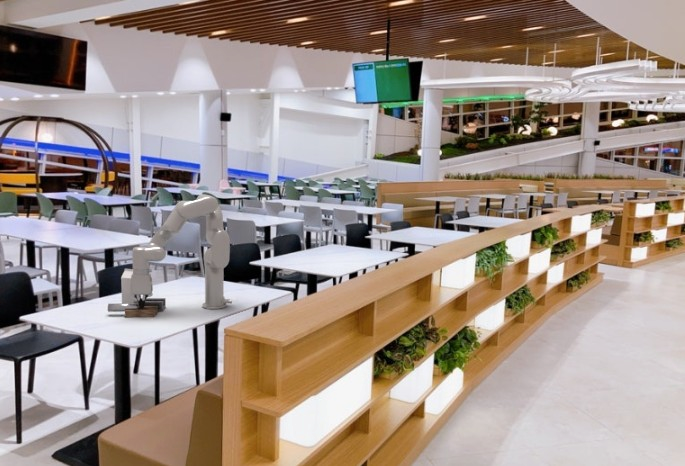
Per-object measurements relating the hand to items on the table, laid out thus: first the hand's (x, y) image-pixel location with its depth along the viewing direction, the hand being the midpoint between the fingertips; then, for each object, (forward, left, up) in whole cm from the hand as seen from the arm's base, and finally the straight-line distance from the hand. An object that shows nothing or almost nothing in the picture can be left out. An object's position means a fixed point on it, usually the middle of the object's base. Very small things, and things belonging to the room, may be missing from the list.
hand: (141, 307), depth 289 cm
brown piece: (0, 0, -4) cm, 4 cm away
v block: (-2, -10, -4) cm, 11 cm away
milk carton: (+10, -21, -4) cm, 24 cm away
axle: (+9, 0, -2) cm, 9 cm away
